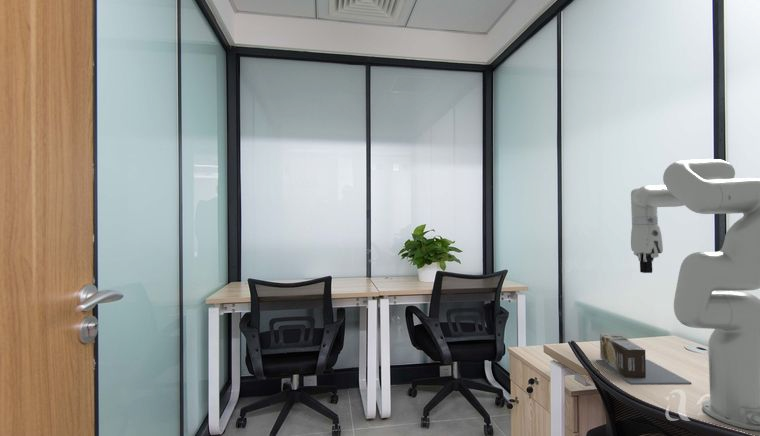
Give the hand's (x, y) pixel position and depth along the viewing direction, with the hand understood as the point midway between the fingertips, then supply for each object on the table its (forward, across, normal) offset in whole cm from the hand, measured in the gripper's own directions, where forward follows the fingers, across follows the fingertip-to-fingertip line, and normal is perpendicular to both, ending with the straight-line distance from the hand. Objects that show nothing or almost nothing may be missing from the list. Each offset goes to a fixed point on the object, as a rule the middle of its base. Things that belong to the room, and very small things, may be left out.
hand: (646, 272), depth 126 cm
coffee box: (+26, -1, +15) cm, 30 cm away
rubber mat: (+31, -11, +11) cm, 35 cm away
